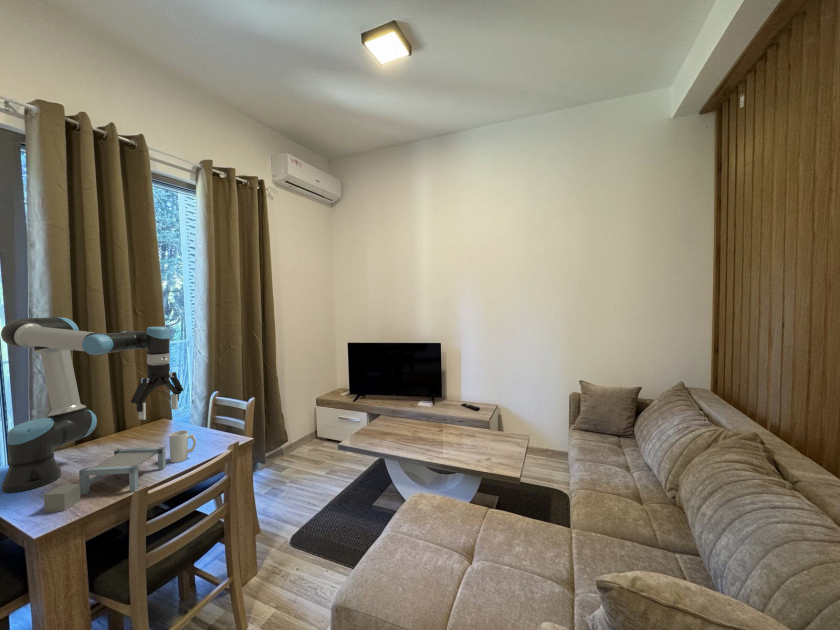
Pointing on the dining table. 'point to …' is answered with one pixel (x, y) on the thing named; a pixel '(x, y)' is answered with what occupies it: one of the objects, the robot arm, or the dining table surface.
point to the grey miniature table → (119, 470)
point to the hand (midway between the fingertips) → (159, 413)
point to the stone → (62, 498)
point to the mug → (180, 445)
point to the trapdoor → (126, 459)
